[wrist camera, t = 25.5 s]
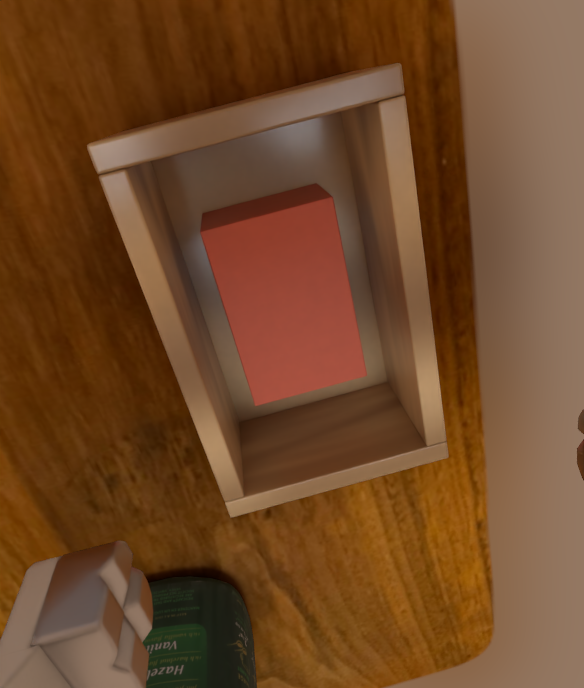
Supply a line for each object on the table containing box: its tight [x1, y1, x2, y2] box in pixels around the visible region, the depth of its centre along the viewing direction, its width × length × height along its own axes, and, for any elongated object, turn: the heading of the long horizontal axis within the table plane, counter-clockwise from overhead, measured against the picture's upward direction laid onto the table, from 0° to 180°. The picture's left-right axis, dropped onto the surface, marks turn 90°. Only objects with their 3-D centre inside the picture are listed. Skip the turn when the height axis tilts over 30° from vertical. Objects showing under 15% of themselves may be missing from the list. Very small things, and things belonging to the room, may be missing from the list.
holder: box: [87, 63, 448, 517], centre depth 19 cm, size 14×9×6 cm, turn 13°
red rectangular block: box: [200, 183, 367, 406], centre depth 20 cm, size 7×4×3 cm, turn 13°
